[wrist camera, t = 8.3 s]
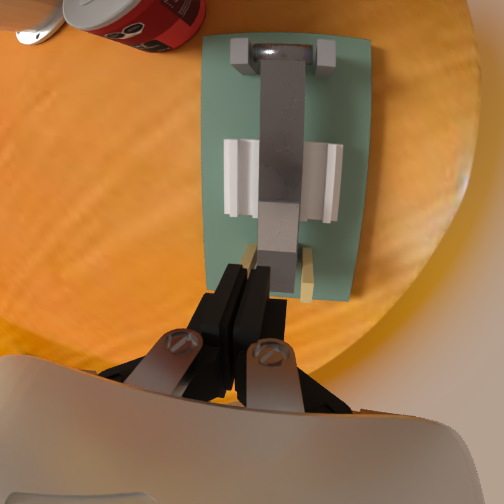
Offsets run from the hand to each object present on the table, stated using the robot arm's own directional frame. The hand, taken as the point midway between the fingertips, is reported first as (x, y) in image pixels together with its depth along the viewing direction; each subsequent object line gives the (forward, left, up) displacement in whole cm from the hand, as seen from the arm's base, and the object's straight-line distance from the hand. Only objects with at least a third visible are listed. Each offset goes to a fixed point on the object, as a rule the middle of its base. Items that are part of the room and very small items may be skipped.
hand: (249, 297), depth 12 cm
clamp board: (-3, 0, -16) cm, 16 cm away
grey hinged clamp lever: (-4, 0, -12) cm, 12 cm away
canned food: (-18, -11, -16) cm, 27 cm away
